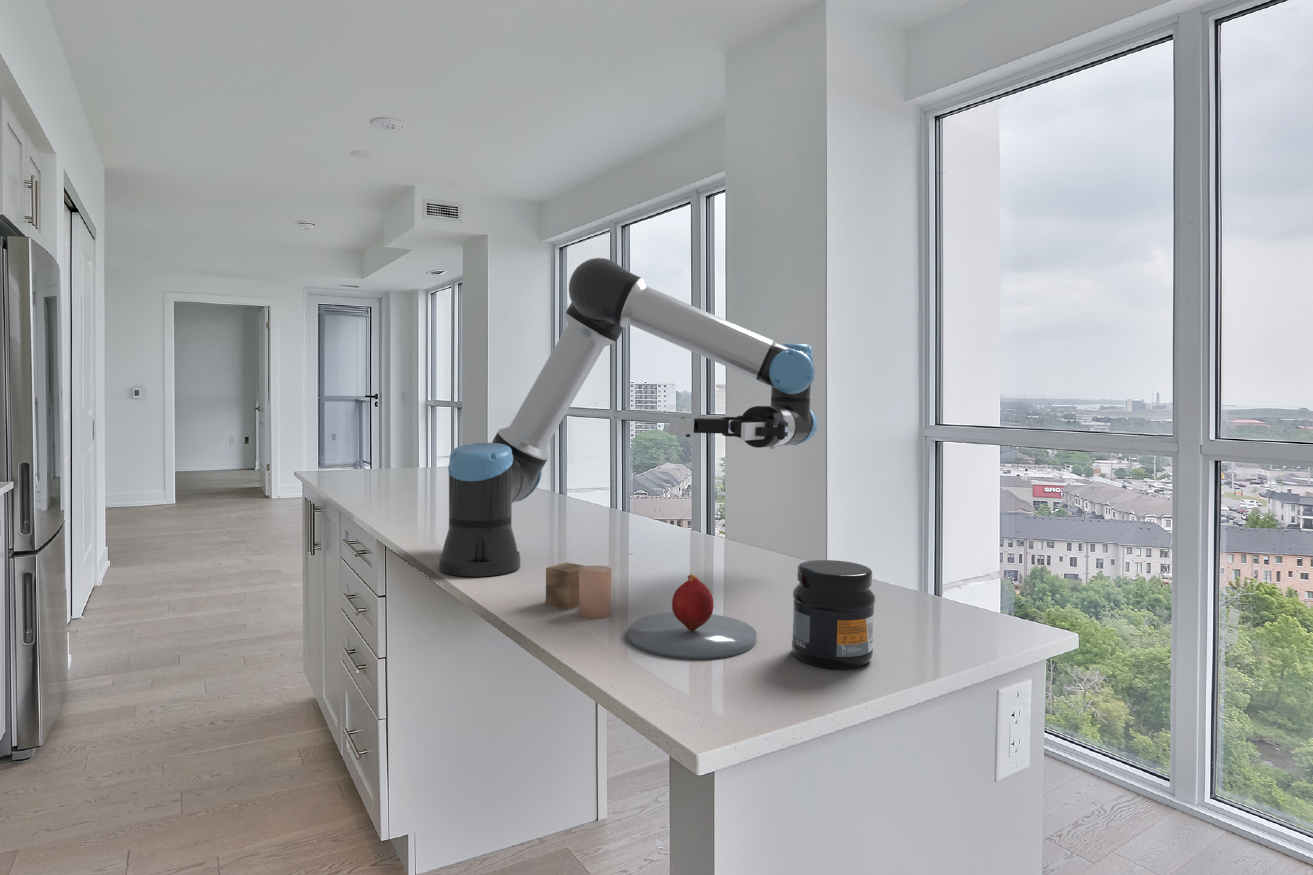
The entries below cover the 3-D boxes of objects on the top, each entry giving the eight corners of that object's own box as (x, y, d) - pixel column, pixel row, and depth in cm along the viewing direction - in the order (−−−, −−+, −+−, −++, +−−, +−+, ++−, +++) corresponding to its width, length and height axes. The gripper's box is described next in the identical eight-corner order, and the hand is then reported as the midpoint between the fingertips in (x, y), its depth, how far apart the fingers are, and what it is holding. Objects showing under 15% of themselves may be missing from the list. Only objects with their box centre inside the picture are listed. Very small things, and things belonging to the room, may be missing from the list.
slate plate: (601, 641, 109) (602, 634, 108) (671, 612, 124) (671, 605, 124) (717, 668, 99) (717, 661, 99) (777, 633, 114) (777, 626, 114)
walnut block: (545, 604, 127) (546, 567, 126) (565, 598, 131) (566, 562, 130) (569, 609, 124) (570, 572, 123) (589, 603, 128) (590, 566, 128)
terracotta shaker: (571, 614, 121) (572, 569, 121) (591, 607, 125) (592, 563, 125) (597, 620, 118) (598, 574, 118) (617, 613, 123) (618, 568, 122)
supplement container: (889, 666, 101) (893, 573, 100) (818, 675, 97) (821, 579, 97) (842, 641, 111) (845, 556, 110) (776, 648, 107) (779, 561, 106)
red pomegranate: (691, 621, 115) (692, 567, 115) (721, 630, 111) (722, 574, 111) (663, 629, 111) (664, 573, 111) (693, 639, 107) (694, 581, 107)
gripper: (829, 451, 138) (775, 458, 121) (707, 442, 152) (642, 447, 135) (831, 408, 138) (777, 409, 120) (708, 403, 152) (644, 403, 135)
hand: (705, 429), depth 128 cm, fingers open, 13 cm apart
